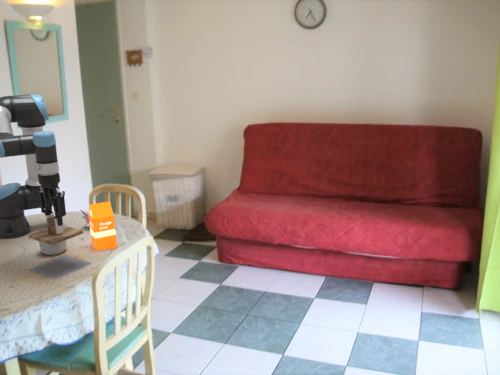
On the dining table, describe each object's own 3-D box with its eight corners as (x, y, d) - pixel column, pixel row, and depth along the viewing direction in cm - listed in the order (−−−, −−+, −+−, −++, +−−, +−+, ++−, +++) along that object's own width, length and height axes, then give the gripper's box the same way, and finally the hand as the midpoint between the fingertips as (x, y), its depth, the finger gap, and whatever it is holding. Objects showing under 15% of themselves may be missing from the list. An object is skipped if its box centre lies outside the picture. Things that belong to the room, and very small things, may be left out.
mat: (28, 271, 195) (27, 269, 195) (64, 256, 209) (64, 254, 208) (56, 280, 186) (55, 279, 186) (92, 264, 200) (92, 263, 200)
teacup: (58, 258, 206) (56, 240, 204) (34, 257, 208) (32, 239, 206) (76, 246, 219) (74, 229, 217) (54, 245, 221) (51, 228, 219)
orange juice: (117, 247, 217) (112, 203, 212) (96, 252, 212) (91, 206, 207) (111, 242, 223) (107, 199, 218) (91, 246, 219) (86, 202, 214)
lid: (29, 238, 192) (26, 220, 190) (60, 227, 204) (57, 210, 202) (52, 245, 185) (50, 226, 183) (83, 233, 196) (81, 215, 194)
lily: (101, 234, 236) (106, 214, 238) (75, 228, 231) (81, 208, 233) (96, 235, 247) (101, 216, 249) (71, 229, 242) (77, 210, 244)
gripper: (25, 172, 189) (33, 231, 195) (54, 178, 180) (62, 239, 186) (42, 168, 195) (50, 225, 201) (71, 173, 186) (78, 233, 192)
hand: (55, 231), depth 194 cm, fingers closed on lid, 4 cm apart
